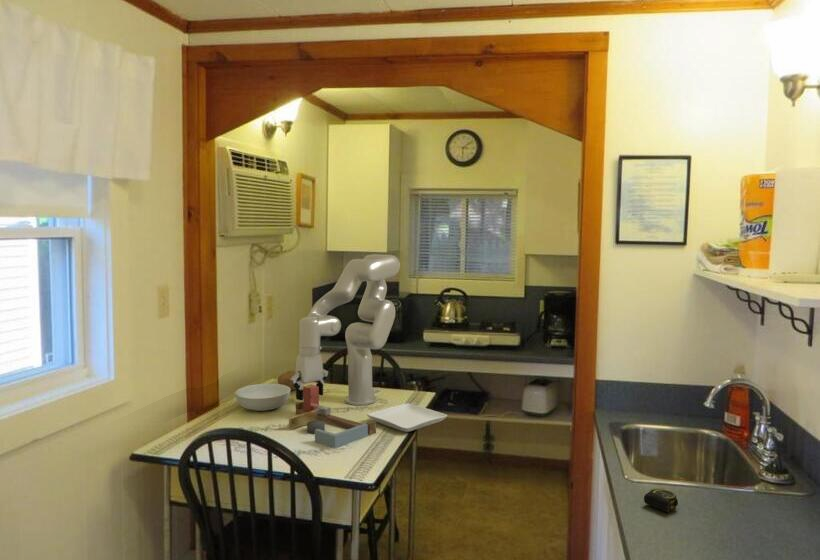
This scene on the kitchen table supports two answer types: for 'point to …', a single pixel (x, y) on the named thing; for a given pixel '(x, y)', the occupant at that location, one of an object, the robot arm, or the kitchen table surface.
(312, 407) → the toy block assembly
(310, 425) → the puck
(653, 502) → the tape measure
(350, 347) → the robot arm
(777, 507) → the kitchen table surface
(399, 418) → the salad plate
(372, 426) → the rail
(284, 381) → the potato
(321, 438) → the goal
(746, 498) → the kitchen table surface
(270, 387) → the serving bowl
